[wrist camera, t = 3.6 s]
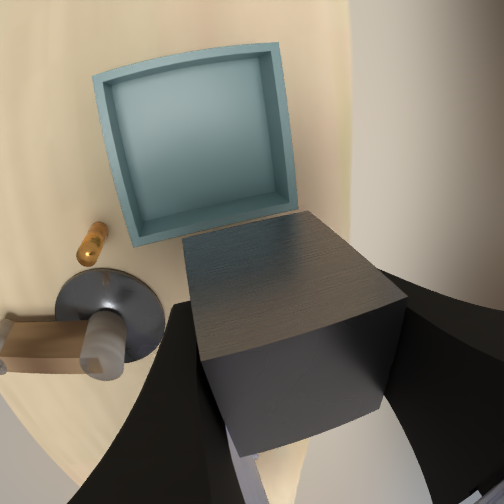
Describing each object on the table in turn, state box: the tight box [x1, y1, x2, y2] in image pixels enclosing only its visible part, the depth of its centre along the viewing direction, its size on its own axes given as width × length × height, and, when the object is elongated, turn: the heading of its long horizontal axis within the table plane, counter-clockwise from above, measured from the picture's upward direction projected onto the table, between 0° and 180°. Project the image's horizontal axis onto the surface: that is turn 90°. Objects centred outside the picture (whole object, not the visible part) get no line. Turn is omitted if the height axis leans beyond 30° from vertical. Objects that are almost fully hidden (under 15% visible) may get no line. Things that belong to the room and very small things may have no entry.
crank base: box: [55, 222, 165, 363], centre depth 15 cm, size 10×7×3 cm
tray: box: [92, 42, 298, 248], centre depth 13 cm, size 8×8×2 cm
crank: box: [0, 311, 127, 381], centre depth 14 cm, size 9×2×3 cm, turn 88°
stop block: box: [182, 211, 408, 458], centre depth 8 cm, size 4×4×5 cm
